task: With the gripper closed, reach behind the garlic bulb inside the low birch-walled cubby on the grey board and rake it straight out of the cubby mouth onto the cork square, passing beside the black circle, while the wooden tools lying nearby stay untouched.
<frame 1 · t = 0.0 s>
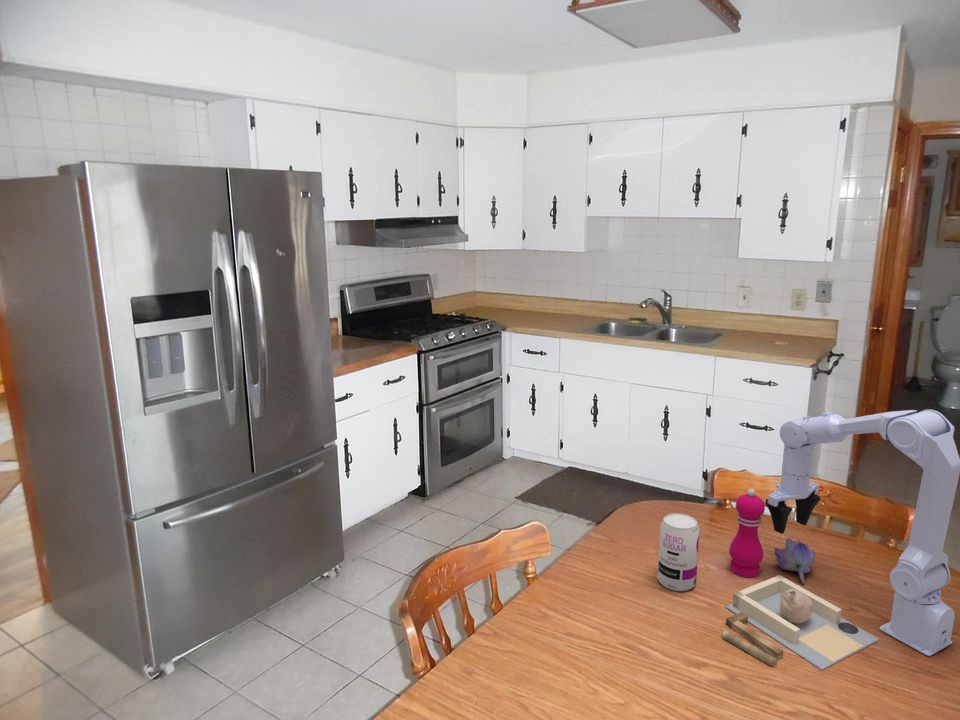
hand: (790, 527, 153), 10 cm above the table, tool pointing down, fingers open, 7 cm apart
garlic bulb: (794, 620, 136), resting on cubby board
crook tool: (753, 641, 130), on the table
straight stick: (749, 652, 127), on the table
pepper mill: (744, 570, 154), on the table
supplement can: (676, 583, 150), on the table
cubby board: (799, 623, 135), on the table
flower: (797, 575, 152), on the table
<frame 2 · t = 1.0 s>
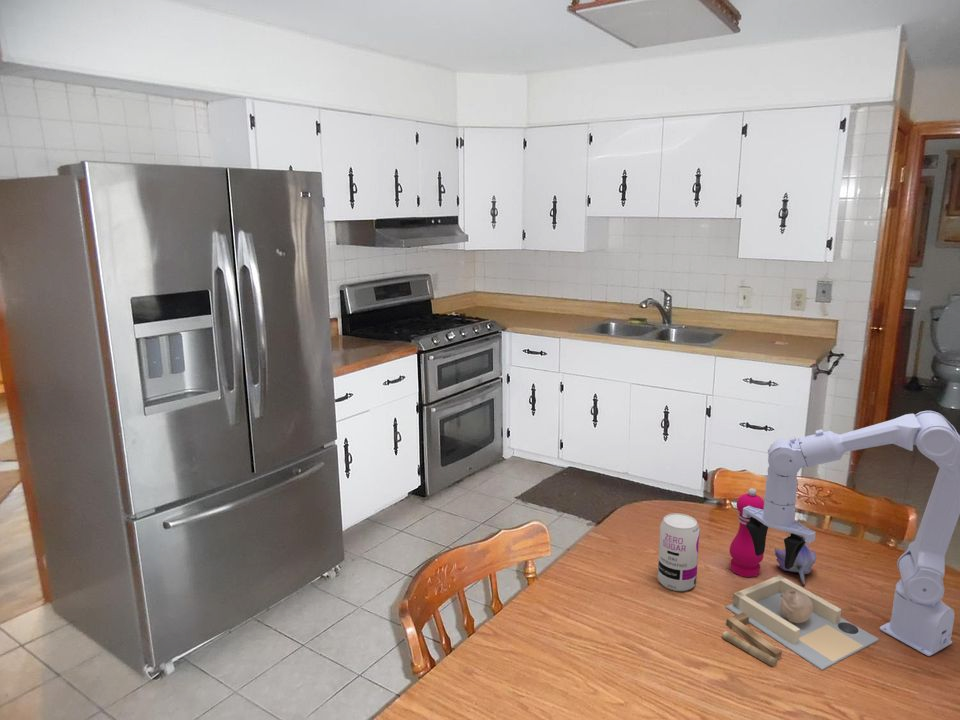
hand: (774, 560, 139), 10 cm above the table, tool pointing down, fingers open, 6 cm apart
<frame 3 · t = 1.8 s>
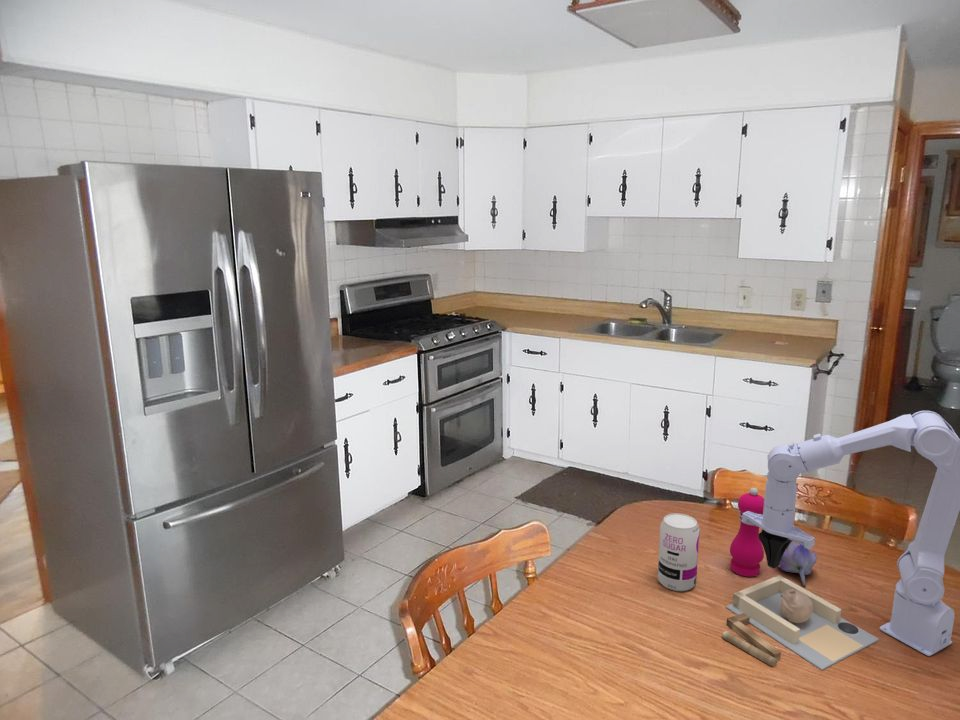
hand: (773, 565, 139), 9 cm above the table, tool pointing down, fingers closed
crook tool: (752, 642, 130), on the table, touching cubby board
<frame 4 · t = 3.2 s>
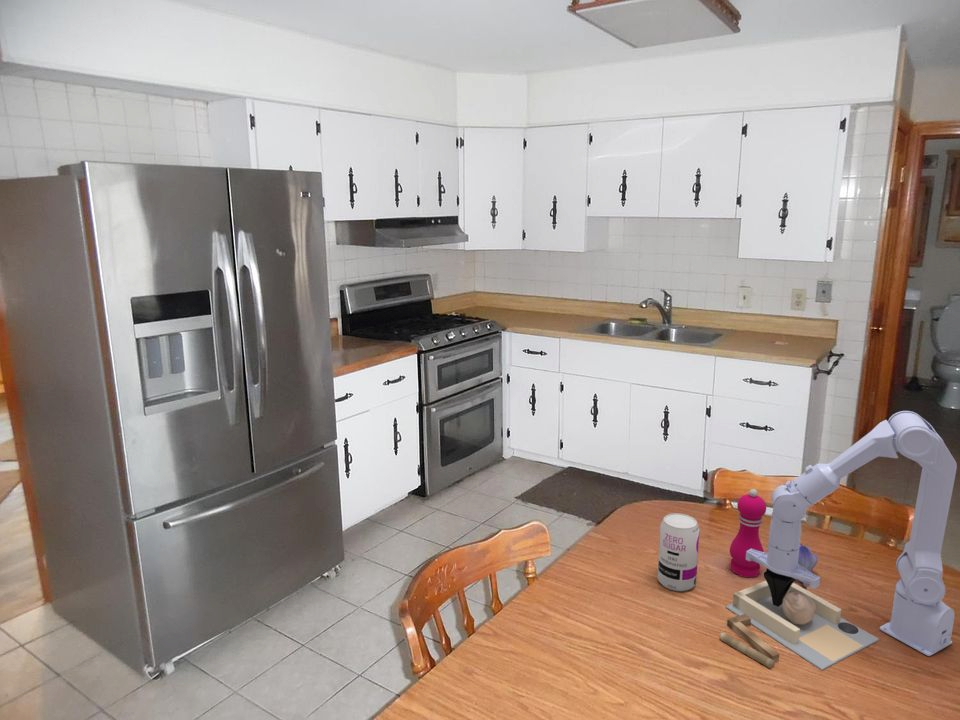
hand: (777, 603, 139), 1 cm above the table, tool pointing down, fingers closed
garlic bulb: (797, 621, 135), resting on cubby board, touching gripper
crook tool: (751, 642, 130), on the table
straight stick: (749, 650, 127), on the table, tilted 63°
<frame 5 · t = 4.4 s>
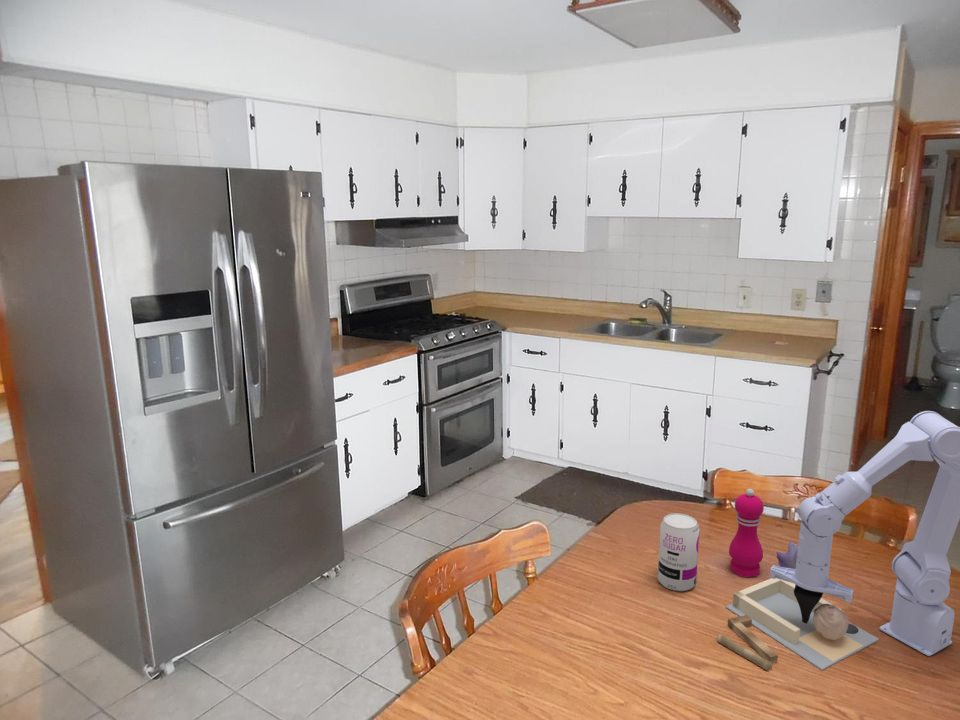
hand: (805, 620, 133), 2 cm above the table, tool pointing down, fingers closed
garlic bulb: (827, 635, 131), resting on cubby board, touching gripper
straight stick: (746, 648, 126), point 1 cm above the table, tilted 139°
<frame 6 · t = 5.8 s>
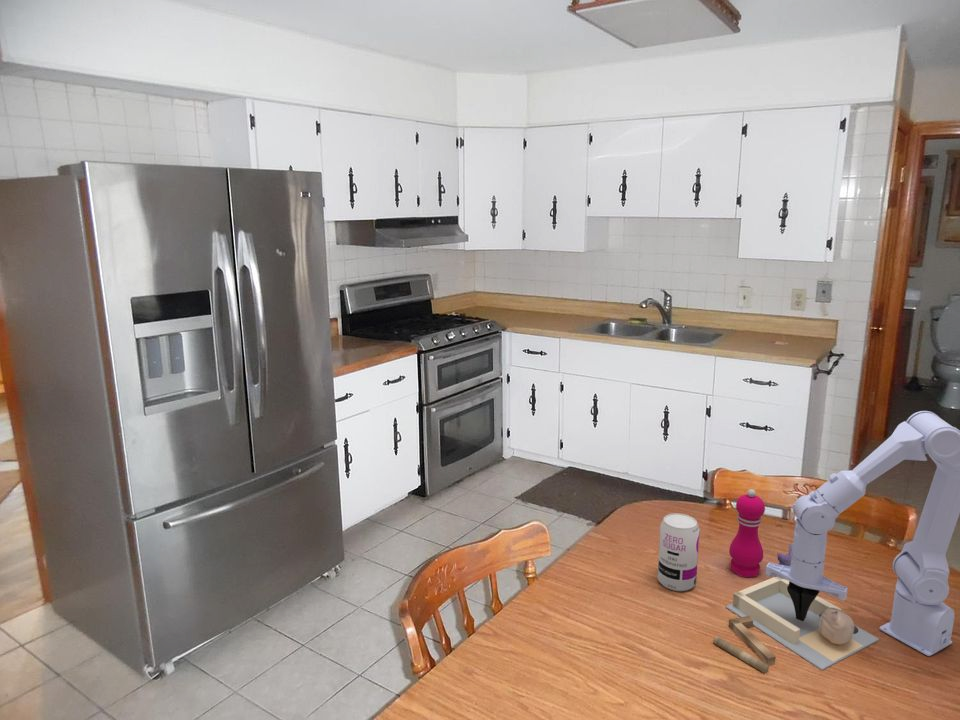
hand: (801, 617, 134), 1 cm above the table, tool pointing down, fingers closed
garlic bulb: (835, 640, 130), resting on cubby board
straight stick: (739, 653, 125), point 1 cm above the table, tilted 133°
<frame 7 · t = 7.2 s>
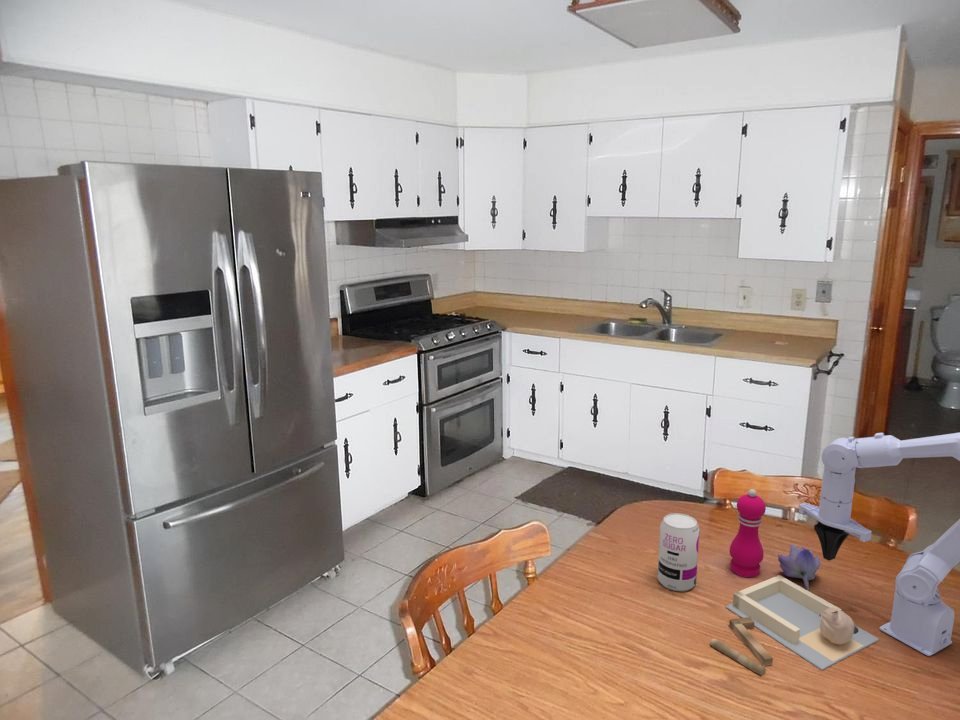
hand: (829, 558, 139), 10 cm above the table, tool pointing down, fingers closed
straight stick: (736, 660, 125), on the table, tilted 45°
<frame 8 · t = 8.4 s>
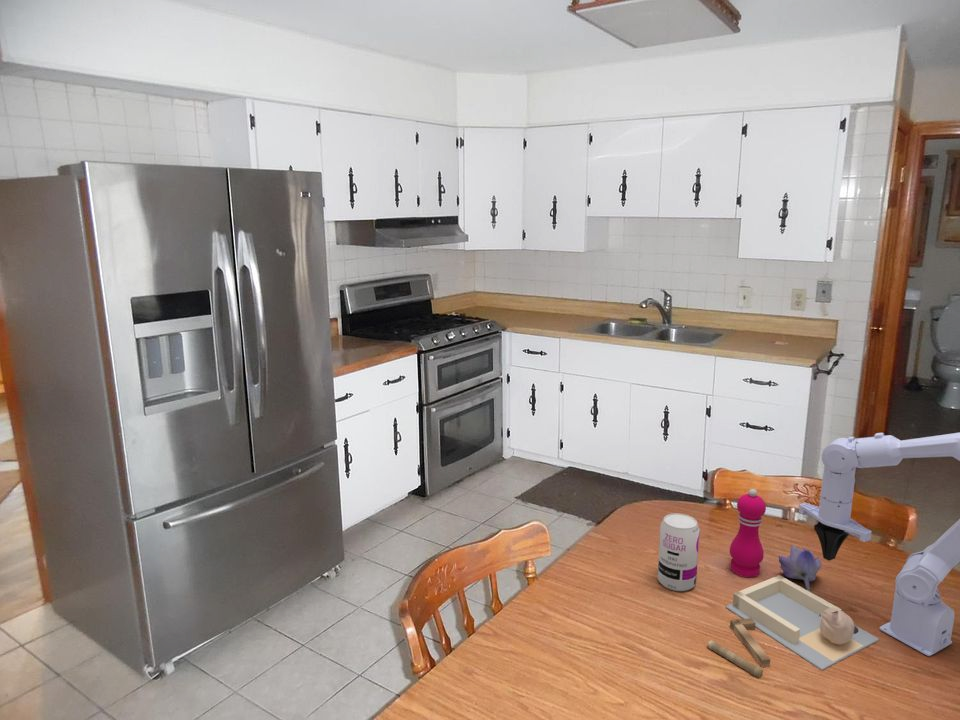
hand: (829, 558, 139), 10 cm above the table, tool pointing down, fingers closed
straight stick: (736, 661, 125), on the table, tilted 29°
at the end: garlic bulb inside the target area (1.6 cm from its centre), resting on cubby board; garlic bulb moved 8.0 cm from its start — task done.
